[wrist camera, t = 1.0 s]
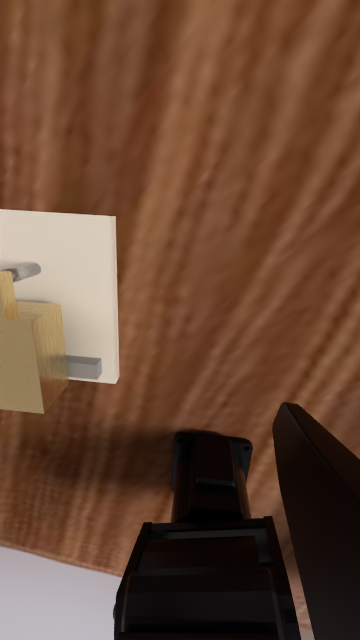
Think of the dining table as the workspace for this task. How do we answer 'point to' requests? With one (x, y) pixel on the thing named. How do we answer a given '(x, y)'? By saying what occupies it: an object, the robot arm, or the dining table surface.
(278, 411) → the robot arm
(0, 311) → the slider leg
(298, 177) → the dining table surface
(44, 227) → the pitch board
